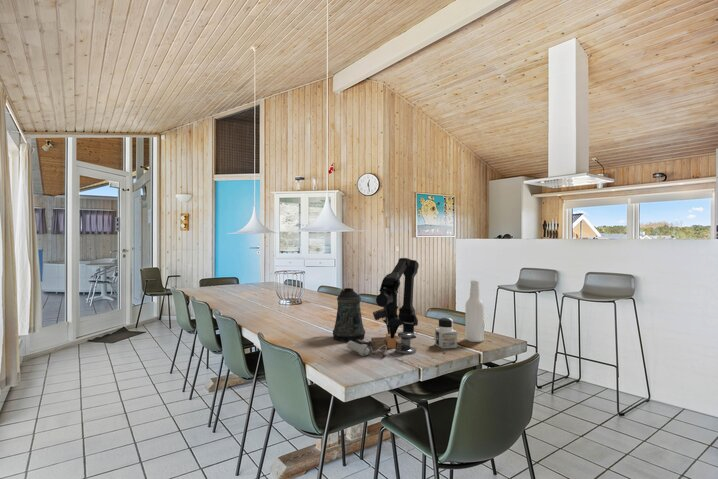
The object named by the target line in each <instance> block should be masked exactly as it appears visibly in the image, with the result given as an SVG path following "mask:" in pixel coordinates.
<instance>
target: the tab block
mask: <svg viewBox="0 0 718 479" xmlns="http://www.w3.org/2000/svg"><path fill="white" fill-rule="evenodd" d="M385 337H386V346H387V349H396V348H397V346H396V337H397V335H396V334H395V336H394V338H391V336H390V334H388V333H385Z"/></svg>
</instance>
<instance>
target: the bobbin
mask: <svg viewBox="0 0 718 479" xmlns="http://www.w3.org/2000/svg"><path fill="white" fill-rule="evenodd" d="M414 335H415V332H414V333H411V332H403V331H400V332H398V333H397V337H401V347H397V346H396V348H395V353H397V354H401V355H413V354H416V352H417V349H416V348H415V347H412V346H411V337H414Z"/></svg>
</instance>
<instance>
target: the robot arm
mask: <svg viewBox="0 0 718 479" xmlns="http://www.w3.org/2000/svg"><path fill="white" fill-rule="evenodd" d="M397 261H398V262H397V263H396V265H395V266H394V267H393V269H392V271H391V272H390V273H387V274H386V275H385V276H384V277H383V279H382V282H381V284H380V286H379V287H380V288H379V294H378V295H377V296H376V297H375V302H376V305H377V306H378V307H382V308H381V309H377V310H375V311H373V312H372V315H373V319H374V320H375V321H378V320H380V319H381V320H382V322H383V323H385V325H386V329H387V334H390V336H391V338H394V336H395V335H396V333H397V331H398V329H399V327H400V326H402V332H411V333H414V337H411V338H412V339H413V338H417V336H416V335H415V327H416V326H418V325H419V319H418V317H417V315H416V310H415V308H414V306H413V299H414V282H415V278H416V277H415V276H416V275H417V274H418V269H419V266H420V264H419V262H418V261H417V260H416V259H414V260H413V259H410V258H408V257H399V258H398V260H397ZM402 276H404V283H403V284H404V286H403V287H404V288H403V299H402V300H403V301H402V306H401V307H400V308H399V306H398V293H399V288H400V286H401V278H402ZM398 309H399V310H398ZM411 338H410V339H411Z"/></svg>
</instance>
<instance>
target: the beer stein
mask: <svg viewBox="0 0 718 479" xmlns="http://www.w3.org/2000/svg"><path fill="white" fill-rule="evenodd" d="M336 300H337V311H336V317H335V324H334V326H333V329H332V335H333V340H335V341H337V342H342V343H348V342H349V341H353V342H355V341H356V339H360V340H362V341H364V339H365V335H366V329H365V327H364V324H363V319H362V312H361V311H362V310H361V301H362V297H361V296H360V295H359V294H358V293H357V292H356V291H354V289H353V288H350V287H349V288H348V287H346V288H344V290H341V291H340V293H339V295H338V296H337V297H336Z"/></svg>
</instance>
